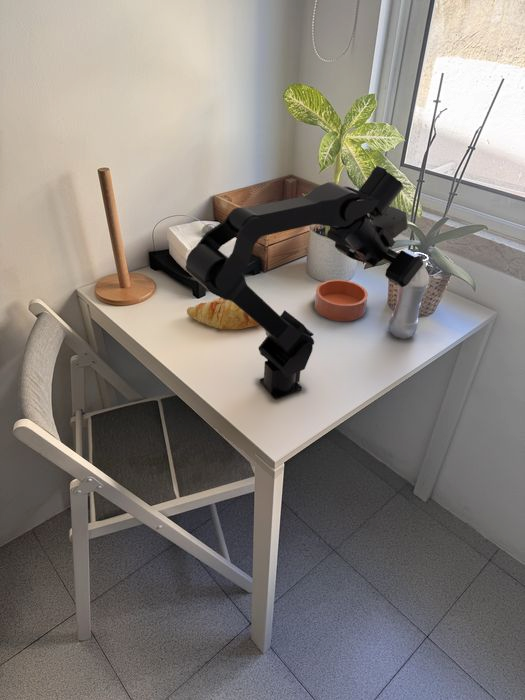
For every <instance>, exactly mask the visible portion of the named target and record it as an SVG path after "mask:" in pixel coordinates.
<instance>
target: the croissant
mask: <svg viewBox="0 0 525 700" xmlns="http://www.w3.org/2000/svg"><path fill="white" fill-rule="evenodd" d="M186 314H187V316H189V317H190V318H192V319H194V320H196V321H197V322H199V323H200V324H204V325H206V326H208V327H212V328H216V329H219V330H242V329H246V328H250V327H251V328H252V327H257V326H260V325H259V324H258V323H257V322H256V321H254V320H253V319H252V318H251V317H250V316H249V315H247V314H246V313H245V312H244V311H243V310H242V309H240V308H239V307H238V306H237V305H236V304H235V303H233V302H232V301H228V300H225V299H223V298H221V297H219V298H215V299H212V300H210V301H208V302H201V303H198V304H196V305H194V306H189V307H188V308H187V309H186Z"/></svg>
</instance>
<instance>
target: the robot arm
mask: <svg viewBox="0 0 525 700" xmlns="http://www.w3.org/2000/svg"><path fill="white" fill-rule="evenodd" d="M403 189H404V185H403V183H402V181H401V180H399V179H397V177H396V176H394V175H393V174H391V173H390V172H389V171H388V170H387V169H386V168H385V167H383V166H380V165H376V166H374V168H373V169H372V171H371V173H370V175H369V176H368V178H367V179H366V180H365V182H363V184H362V185H361V186H360V188H359V190H357V189H355V188H353V187H351V186H349V185H348V186H347V185H344V186H343V185H342V186H341V184H337V183H336V182H332V181H328V182H324V183H323V184H320V185H318V186H316V187H313V188H311V190H310V191H309V192H308V194H305V195H302V196H299V197H298V196H297V197H294V198H289V199H284V200H279V201H273V202H268V203H262V204H258V205H253V206H247V207H244V206H240V207H235V208H233V209H232V210H231V211H230V212H229V213H228V214H227V216H226V217H225V218H224V219H223V221H222V222H220V223H218V224H217V225H216V226H214V227H213V228H211V229H209V230H208V231H206V232H205V234H204V235H203V236H202V237H201V239H200V240H199V241H198V243H197V244H196V245H195V246H194V248H192V249H191V250H190V252H189V253H188V255H187V257H186V261H185V270H186V271H187V273H188V274H189V275H190V276H191V277H192V278H194V280H196V281H197V282H198V283H199V284H201V285H202V286H203V287H204V289H206V290H207V291H208V292H210V293H211V294H213V295H215V296H216V297H219V298H223V299H225V300H228V301H232V302H233V303H235V304H236V305H237V306H238V307H239V308H240V309H242V310H243V311H244V312H245V313H246V314H247V315H249V316H250V317H251V318H252V319H253V320H254V321H256V322H257V323H258V324H259V325H258V326H260V327H261V328H262V329H263V330H264V332H265V336H266V337H265V339H264V340H263V341H262V342H261V344H260V345H259V346H258V347H257V348H258V351H259V354H260V356H262V357H264V359H266V360H265V361H264V369H263V371H264V372H263V377H262V378H259V384H261V386H262V387H263V388H264V389H265V390H266V392H267V393H268V394H269V395H270V396H271V398H272V399H274V400H280V399H282V398H286V397H287V396H290V395H293V394H296V393H298V392H301V391H302V390H303V387H302V386H301V384H300V381H301V380H300V379H301V372H302V371H304V370H305V369H306V367H307V364H308V362H309V360H310V357H311V355H312V352H313V347H314V345H315V339H314V338H313V336H314V335H315V334H314V333H313V332H312V331H311V330H310V329H308V328H307V327H306V325H305V324H304V323H302V322H301V321H300V320H298V319H297V318H296V317H295V316H293V315H292V314H291V313H290V312H288V311H287V310H286V309H285V310H283V311H282V313H281V315H280V314H279V313H278V312H276V311H275V310H274V309H273V308H272V307H271V306H270V305H269V304H268V302H266V301H264V299H263V298H262V297H260V296H259V295H258V294H257V293H256V292H255V291H254V290H253V289H252V288H251V287H250V286H249V285H248V284H247V281H246V276H245V274H244V272H245V270H246V269H247V268H248V267H249V264H250V262H251V258H252V254H253V251H254V248H255V245H256V244H257V242H259V240H260V238H262V237H266V236H269V235H274V234H279V233H283V232H288V231H293V230H296V229H300V228H305V227H309V226H313V225H321V226H325V227H329V229H328V230H327V232H326V238H328V239H329V240H331V241H333V242H334V243H335V244H334V248H335V249H336V250H337V251H338V252H339V253H342V254H343V255H345V256H346V257H348V258H349V259H352V260H353V261H354V260H355V261H357V262H361V263H365V264H367V265H370V266H371V267H373V268H374V267H376V266H377V265H378V263H380V262H381V261H384V262H386V263H387V264H389V265H388V267H387V268H386V270H385V274H384V275H385V277H386V278H387V279H388V281H390V282H391V283H394V284H395V285H396V286H398V287H399V286H401V287H405V286H407V284H409V282H410V281H411V279H412V278H413V277H414V275H415V274H416V273H417V272H418V270H419V269H420V268H421V267H422V265H423V260H422V258H421V257H420V255H418V254H416V253H417V252H414V251H412V250H410V249H408V248H404V249H401V250H400V251H399V252H396V251H395V250H393V249H391V248H392V247H393V246H394V245H395V244H396V241H395V240H394V239H395V238H396V237H398V236H399V235H400V234H402V232H404V231H406V230H407V229H408V228H409V225H408V217H407V212H406V211H404V210H402V209H400V208H397V207H395V206H391V205H392V203H393V202H394V201H395V200H396V198H398V196H399V194H400V193H401V192H402V190H403ZM233 239H235V242H234V246H233V249H232V252H231V253H230V255H229V256H227V255H225V254H224V253H223V252H222V251H220V249H221V247H223V246H224V245H225V244H227V243H229V242H230V241H232V240H233Z"/></svg>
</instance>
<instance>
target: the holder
mask: <svg viewBox="0 0 525 700" xmlns="http://www.w3.org/2000/svg"><path fill="white" fill-rule="evenodd" d="M368 297H369V294H368V291H367V290H366V288H365V287H363V286H362V285H361V284H359V283H356V282H354V281H351V280H345V279H329V280H326V281H325V280H324V281H323V282H321V283H319V284H318V285H317V286H316V289H315V296H314V309H315V311H316V312H317V313H318V314H319V315H320V316H322V317H323V318H326V319H328V320H331V321H334V322H335V321H337V322H352V321H355V320H358V319H360V318H362V317H363V316H364V314H365V312H366V307H367V302H368Z"/></svg>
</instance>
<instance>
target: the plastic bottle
mask: <svg viewBox="0 0 525 700" xmlns="http://www.w3.org/2000/svg"><path fill="white" fill-rule="evenodd" d="M415 253H416V254H418V255H420V257H421V258H422V260H423V265H422V267H421V268H420V269H419V270H418V272H417V273H416V274H415V275H414V277H413V278H412V279H411V281H410V282H409V284H407V286H405V287H401V286H399V285H398V292H397V297H396V303H395V306H394V309H393V312H392V314H391V315H390V319H389V322H388V329H389V331H390V333H391V334H392V335H393V336H394V337H396V338H399V339H410V338H411V337H413V336H414V335H415V334H416V332H417V330H418V325H419V314H420V307H421V305H422V301H423V298H424V296H425V293H426V292H427V288H428V286H429V283H430V275H429V273H428V270H427V269H426V268H427V267H428V261H429V256H428V255H427V254H425V253H422V252H415Z"/></svg>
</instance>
